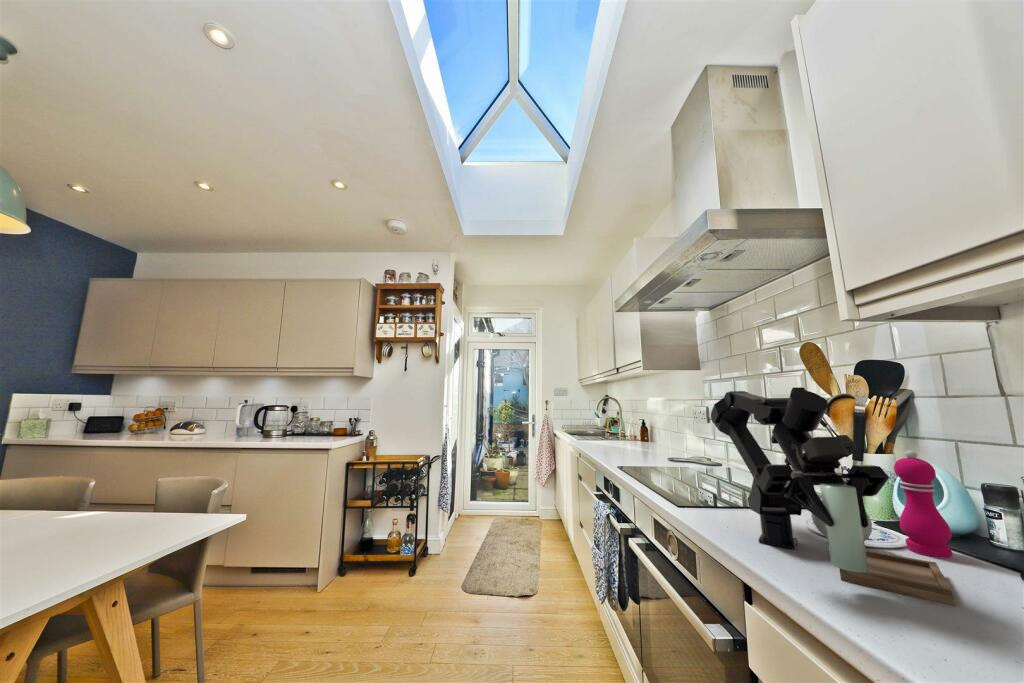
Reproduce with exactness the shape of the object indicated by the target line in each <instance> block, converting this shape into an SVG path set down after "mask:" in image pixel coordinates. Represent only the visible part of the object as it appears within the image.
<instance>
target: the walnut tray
mask: <svg viewBox="0 0 1024 683" xmlns="http://www.w3.org/2000/svg"><path fill="white" fill-rule="evenodd" d="M865 550H866V556H867V563H868V569H869V571H868V572H852V571H847V570H843V569H840V568H838V569H839V574H840V581H844V582H849V583H853V584H859V585H863V586H867V587H872V588H875V589H880V590H885V591H890V592H895V593H899V594H903V595H908V596H910V597H917V598H921V599H926V600H929V601H936V602H939V603H944V604H949V605H953V606H955V599H954V595H953V590H952V588H951V586H950V584H949V583H948V581H947V579H946V577H945V576H944V574H943V573H942V571H941V569H940V567H939V565H938V564H937V562H934V561H930V560H923V559H917V558H912V557H907V556H901V555H895V554H889V553H884V552H878V551H873V550H867V549H865Z"/></svg>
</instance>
